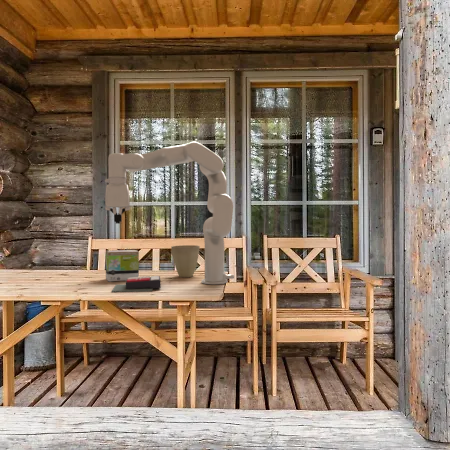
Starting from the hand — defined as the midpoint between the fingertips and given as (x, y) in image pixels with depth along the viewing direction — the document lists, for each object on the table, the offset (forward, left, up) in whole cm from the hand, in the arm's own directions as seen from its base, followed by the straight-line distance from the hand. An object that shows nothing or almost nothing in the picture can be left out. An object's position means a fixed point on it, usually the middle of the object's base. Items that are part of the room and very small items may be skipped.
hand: (117, 223), depth 195 cm
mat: (-6, 0, -29) cm, 30 cm away
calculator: (-3, 0, -27) cm, 27 cm away
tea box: (+1, -26, -29) cm, 39 cm away
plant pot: (-31, -33, -29) cm, 54 cm away
